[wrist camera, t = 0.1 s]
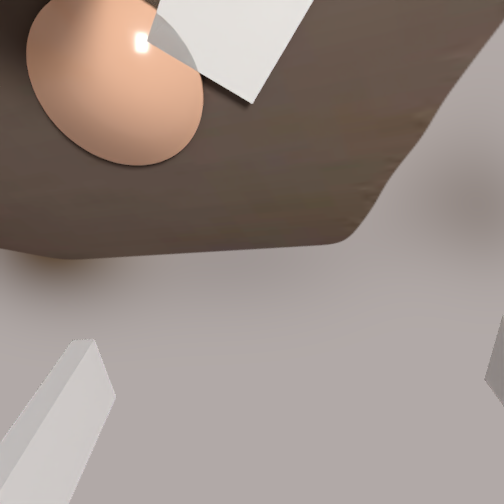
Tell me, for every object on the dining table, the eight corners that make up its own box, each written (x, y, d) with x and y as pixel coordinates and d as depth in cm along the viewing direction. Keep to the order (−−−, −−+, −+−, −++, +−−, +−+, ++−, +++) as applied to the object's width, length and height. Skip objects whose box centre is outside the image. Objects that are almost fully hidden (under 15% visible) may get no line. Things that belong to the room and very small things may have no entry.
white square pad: (199, -111, 23) (197, -111, 23) (319, -15, 27) (320, -13, 26) (149, 37, 29) (146, 41, 29) (252, 99, 33) (252, 103, 32)
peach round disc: (70, -69, 25) (64, -68, 24) (236, 77, 32) (236, 82, 31) (9, 96, 33) (4, 100, 32) (153, 184, 40) (151, 189, 39)
